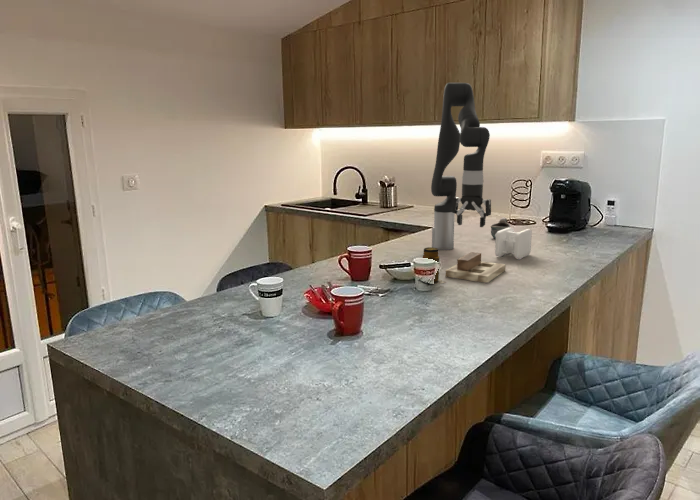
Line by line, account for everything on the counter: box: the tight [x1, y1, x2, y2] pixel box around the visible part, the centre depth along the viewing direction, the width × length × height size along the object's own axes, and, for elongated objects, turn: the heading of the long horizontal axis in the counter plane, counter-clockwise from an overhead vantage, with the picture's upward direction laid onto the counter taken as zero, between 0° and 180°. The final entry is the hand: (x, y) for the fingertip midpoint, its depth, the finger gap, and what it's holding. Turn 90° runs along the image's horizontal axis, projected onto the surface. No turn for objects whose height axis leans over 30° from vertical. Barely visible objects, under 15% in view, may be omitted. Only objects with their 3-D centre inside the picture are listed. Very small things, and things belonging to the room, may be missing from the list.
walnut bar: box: [456, 251, 482, 271], centre depth 200 cm, size 4×14×6 cm, turn 146°
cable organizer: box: [494, 227, 533, 261], centre depth 224 cm, size 15×11×12 cm
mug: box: [490, 217, 512, 240], centre depth 262 cm, size 10×12×10 cm
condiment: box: [422, 246, 447, 285], centre depth 189 cm, size 7×8×12 cm
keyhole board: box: [445, 260, 507, 284], centre depth 199 cm, size 16×20×2 cm
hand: (470, 225), depth 197 cm, fingers open, 8 cm apart
